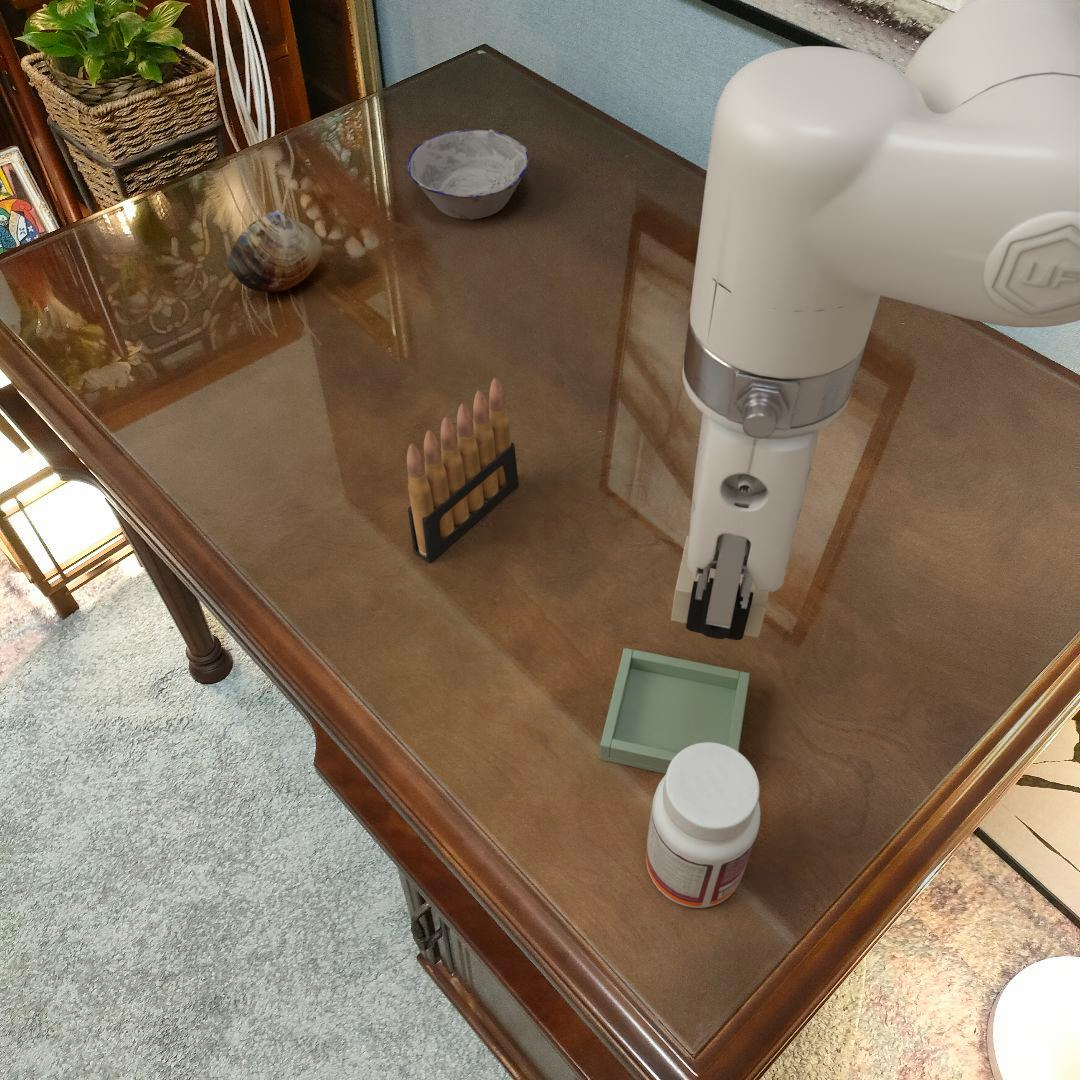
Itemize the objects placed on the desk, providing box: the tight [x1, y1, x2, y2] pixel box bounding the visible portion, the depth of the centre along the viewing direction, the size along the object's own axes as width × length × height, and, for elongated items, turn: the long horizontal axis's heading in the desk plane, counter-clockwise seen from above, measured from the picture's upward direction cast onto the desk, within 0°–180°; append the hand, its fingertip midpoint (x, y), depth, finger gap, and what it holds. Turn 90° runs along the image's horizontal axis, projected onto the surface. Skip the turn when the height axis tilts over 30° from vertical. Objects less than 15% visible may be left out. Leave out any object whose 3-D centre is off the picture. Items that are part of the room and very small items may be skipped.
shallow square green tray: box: [599, 647, 751, 775], centre depth 70 cm, size 9×8×2 cm
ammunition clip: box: [406, 376, 520, 563], centre depth 78 cm, size 11×2×12 cm, turn 140°
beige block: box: [670, 535, 770, 639], centre depth 58 cm, size 5×4×3 cm
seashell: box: [226, 209, 323, 293], centre depth 99 cm, size 10×6×8 cm, turn 125°
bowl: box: [406, 128, 530, 221], centre depth 110 cm, size 13×13×5 cm
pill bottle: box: [645, 742, 761, 909], centre depth 60 cm, size 6×6×11 cm
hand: (720, 596), depth 59 cm, fingers closed on beige block, 4 cm apart
